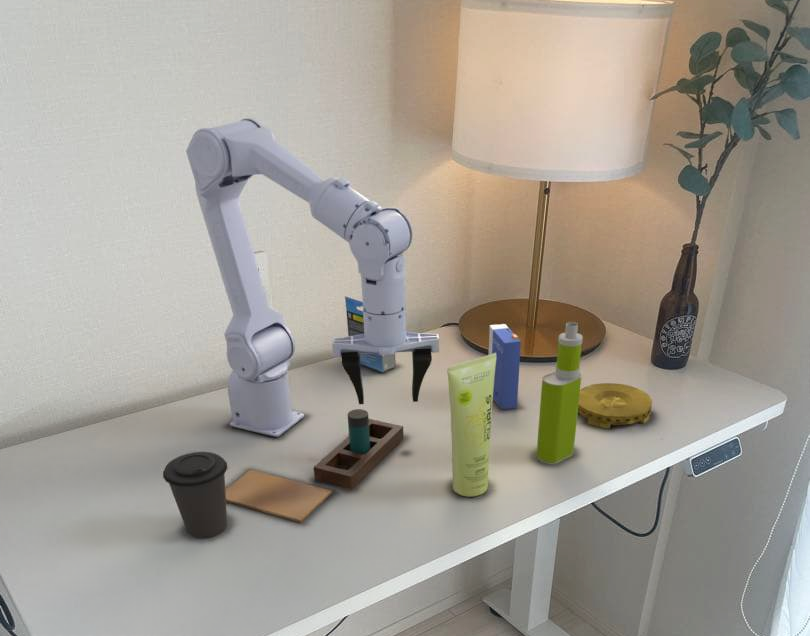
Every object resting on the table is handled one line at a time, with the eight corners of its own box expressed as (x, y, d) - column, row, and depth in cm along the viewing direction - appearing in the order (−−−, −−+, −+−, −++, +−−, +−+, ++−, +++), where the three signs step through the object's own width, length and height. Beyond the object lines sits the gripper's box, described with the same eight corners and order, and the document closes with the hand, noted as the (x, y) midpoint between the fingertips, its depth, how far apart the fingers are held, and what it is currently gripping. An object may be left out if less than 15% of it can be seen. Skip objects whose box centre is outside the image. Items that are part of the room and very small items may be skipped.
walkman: (517, 407, 133) (521, 338, 126) (501, 410, 132) (504, 340, 125) (502, 387, 139) (505, 321, 132) (486, 389, 139) (489, 322, 132)
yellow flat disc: (663, 423, 127) (665, 410, 126) (593, 433, 125) (594, 421, 124) (628, 391, 137) (630, 379, 135) (563, 400, 134) (564, 388, 133)
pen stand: (314, 480, 116) (313, 467, 115) (369, 430, 128) (368, 418, 126) (351, 489, 114) (350, 476, 112) (403, 438, 125) (403, 426, 124)
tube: (482, 502, 110) (487, 370, 99) (446, 497, 111) (447, 366, 100) (491, 481, 114) (496, 352, 103) (456, 476, 116) (458, 348, 104)
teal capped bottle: (347, 461, 120) (343, 416, 116) (357, 451, 122) (353, 407, 118) (364, 465, 119) (361, 420, 115) (374, 456, 121) (371, 411, 117)
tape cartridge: (397, 366, 147) (394, 301, 140) (382, 373, 145) (379, 307, 138) (363, 354, 152) (359, 290, 145) (348, 360, 150) (343, 296, 143)
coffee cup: (208, 551, 103) (194, 485, 97) (163, 533, 106) (146, 468, 100) (250, 519, 108) (239, 455, 102) (206, 503, 112) (193, 440, 106)
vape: (578, 452, 120) (592, 324, 109) (550, 466, 117) (562, 335, 106) (559, 443, 123) (571, 316, 111) (532, 456, 120) (541, 327, 108)
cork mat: (217, 498, 113) (216, 496, 112) (250, 471, 118) (250, 469, 118) (301, 522, 107) (300, 520, 107) (332, 493, 113) (331, 490, 113)
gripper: (328, 320, 104) (336, 415, 111) (441, 315, 104) (441, 410, 112) (330, 301, 109) (337, 392, 117) (436, 297, 110) (437, 388, 117)
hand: (388, 399), depth 115 cm, fingers open, 7 cm apart
